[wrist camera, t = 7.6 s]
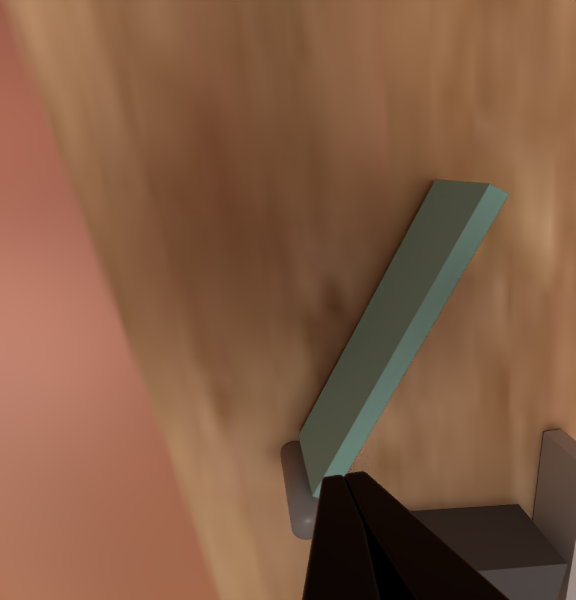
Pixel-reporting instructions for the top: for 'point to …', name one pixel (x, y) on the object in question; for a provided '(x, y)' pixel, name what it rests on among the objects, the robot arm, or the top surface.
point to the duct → (547, 511)
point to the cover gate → (396, 323)
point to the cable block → (501, 548)
